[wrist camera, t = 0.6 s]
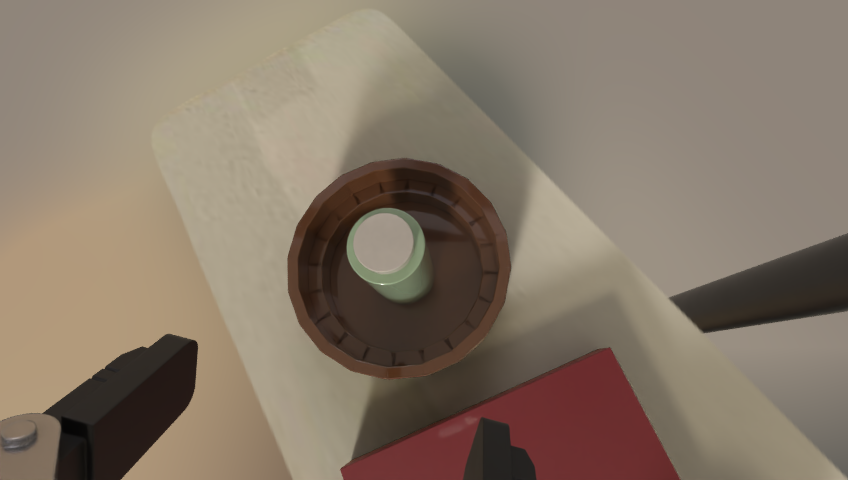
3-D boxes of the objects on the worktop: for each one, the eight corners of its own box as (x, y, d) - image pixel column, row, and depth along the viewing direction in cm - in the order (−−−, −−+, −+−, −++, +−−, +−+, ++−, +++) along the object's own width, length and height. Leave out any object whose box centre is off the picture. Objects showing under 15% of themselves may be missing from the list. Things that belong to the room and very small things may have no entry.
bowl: (454, 155, 41) (452, 126, 36) (539, 326, 36) (550, 319, 32) (284, 229, 40) (259, 210, 35) (349, 411, 36) (331, 417, 31)
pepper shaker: (420, 235, 39) (405, 190, 29) (445, 289, 37) (437, 261, 28) (365, 259, 38) (331, 222, 29) (388, 314, 37) (360, 295, 28)
